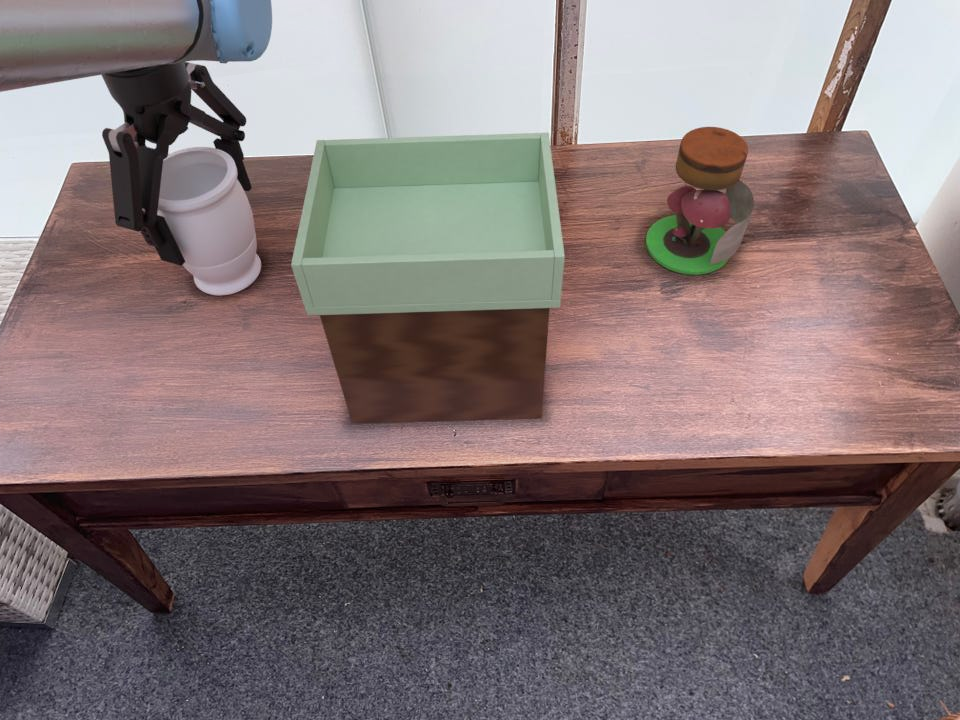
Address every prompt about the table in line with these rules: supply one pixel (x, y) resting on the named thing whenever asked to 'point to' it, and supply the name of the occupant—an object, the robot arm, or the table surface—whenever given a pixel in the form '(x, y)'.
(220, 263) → the jar
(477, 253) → the tray
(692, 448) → the table surface
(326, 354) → the table surface
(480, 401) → the stand
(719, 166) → the toy figurine
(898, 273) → the table surface
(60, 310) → the table surface
